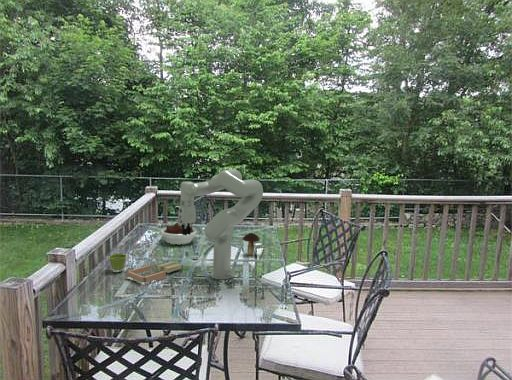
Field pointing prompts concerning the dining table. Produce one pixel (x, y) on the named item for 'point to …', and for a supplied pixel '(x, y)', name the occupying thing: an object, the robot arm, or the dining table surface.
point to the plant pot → (117, 261)
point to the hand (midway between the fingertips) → (186, 234)
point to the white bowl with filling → (177, 234)
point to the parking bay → (152, 277)
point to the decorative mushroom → (251, 242)
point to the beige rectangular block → (170, 267)
